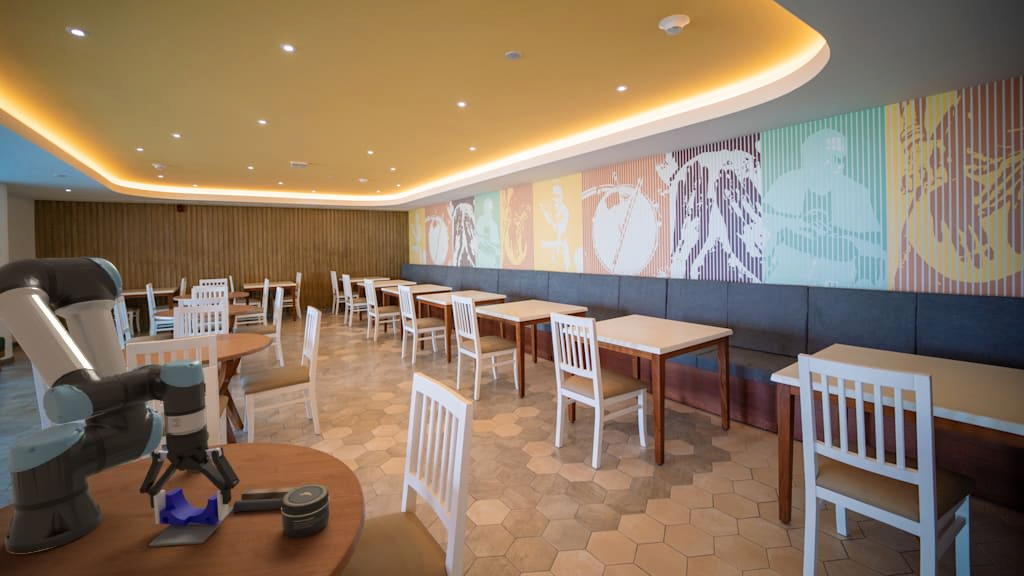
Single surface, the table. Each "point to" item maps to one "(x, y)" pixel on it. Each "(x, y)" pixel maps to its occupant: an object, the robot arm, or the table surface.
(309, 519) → the jar
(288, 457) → the table surface
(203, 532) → the mat
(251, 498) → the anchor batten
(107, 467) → the robot arm
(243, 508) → the rod
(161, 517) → the cable clip
